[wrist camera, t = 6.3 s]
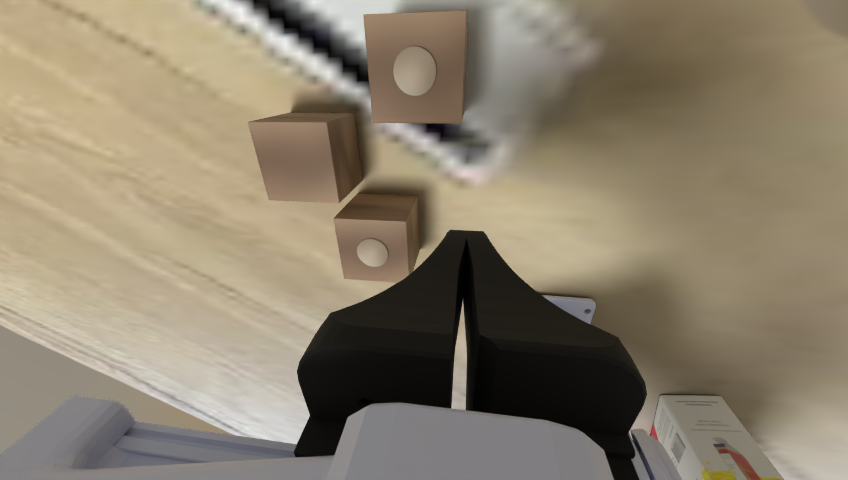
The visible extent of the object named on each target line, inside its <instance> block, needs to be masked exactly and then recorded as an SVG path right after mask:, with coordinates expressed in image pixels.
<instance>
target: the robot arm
mask: <svg viewBox="0 0 848 480" xmlns="http://www.w3.org/2000/svg"><path fill="white" fill-rule="evenodd" d="M462 301H463V303H464V317H465V330H466V343H467V383H466V410H458V409H451V402H452V385H453V368H454V354H455V345H456V339H457V333H458V327H459V320H460V314H461V308H462ZM595 308H596V304H595V302H594V300H592V299H588V298H575V297H562V296H549V295H540V294H539V293H538V292H536V291H535V290H534V289H533V288H531V287H530V286H529V285H528V284H527V283H525V282H524V281H523V280H522V279H521V278H520V277H519V276H518V275H517V274H516V273H515V272H514V271H513V270H512V269H511V268H510V267H509V266H508V265H507V263H506V262H505V261H504V260H503V259H502V257H501V256H500V255H499V253H498V252H497V251H496V249H495V248H494V247H493V245H492V244H491V242H490V240H489V239H488V237H487V235H486V234H485V233H484V232H483V231H463V230H450V231H449V232H447V234H446V236H445V237H444V239H443V240H442V242H441V243H440V244H439V245H438V247H437V248H436V249H435V250H434V251H433V253H432V254H431V255H430V256H429V257H428V258H427V259H426V260H425V261H424V262H423V263H422V264H421V265H420V266H419V267H418V268H417V269H416V270H414V271H413V272H412V273H411V274H410V275H408V276H407V277H406V278H404V279H403V280H401V281H400V282H398V283H397V284H395V285H393V286H392V287H390V288H388V289H387V290H385V291H383V292H381V293H379V294H377V295H375V296H373V297H371V298H369V299H367V300H365V301H362V302H360V303H357V304H355V305H352V306H349V307H346V308H344V309H341V310H338V311H335V312H332V313H330V314H329V316H328V317H327V319H326V320H325V321H324V323H323V324H322V325H321V327H320V328H319V330H318V331H317V333H316V334H315V336H314V338H313V339H312V341H311V343H310V345H309V346H308V348H307V350H306V351H305V353H304V355H303V357H302V358H301V360H300V362H299V366H298V370H297V374H298V380H299V384H300V387H301V390H302V393H303V396H304V399H305V401H306V404H307V407H308V410H309V413H310V417H309V419H308V422H307V424H306V426H305V428H304V430H303V432H302V435H301V437H300V439H299V441H298V443H297V444H290V443H283V442H277V441H270V440H263V439H256V438H249V437H242V436H235V435H228V434H221V433H214V432H207V431H200V430H193V429H186V428H179V427H172V426H166V425H158V424H151V423H144V422H138V421H135V418H134V416H133V415H132V413H131V412H130V411H129V409H128V408H126V407H125V406H124V405H123V404H121V403H119V402H117V401H114V400H110V399H105V398H97V397H90V396H82V395H73V396H70V397H69V398H68V399H67V400H66V401H64V402H63V403H62V404H61V405H59V406H58V407H57V408H56V409H55V410H53V411H52V412H51V413H50V414H49V415H47V416H46V417H45V418H44V419H43V420H41V421H40V422H39V423H38V424H37V425H35V426H34V427H33V428H32V429H30V431H28V432H27V433H26V434H24V435H23V436H22V437H21V438H20V439H18V440H17V441H16V442H15V443H14V444H12V445H11V446H10V447H9V448H7V449H6V450H5V451H4V452H3V453H1V454H0V480H682V478H681V476H680V474H679V473H678V471H677V469H676V467H675V465H674V463H673V461H672V460H671V458H670V456H669V455H668V453H667V451H666V450H665V448H664V447H663V445H662V444H661V443H660V442H659V441H658V440H656V439H655V438H653V437H652V436H650V435H648V434H647V433H646V431H644V430H643V429H634V430H631V435H632V438H631V437H630V434H629V430H630V429H631V427H632V425H633V423H634V421H635V420H636V418H637V416H638V414H639V413H640V411H641V409H642V407H643V405H644V402H645V399H646V396H647V392H646V386H645V382H644V380H643V378H642V376H641V375H640V373H639V371H638V369H637V367H636V365H635V363H634V362H633V360H632V358H631V356H630V355H629V353H628V352H627V350H626V349H625V347H624V346H623V344H622V343H621V341H620V340H619V338H618V337H616V336H614V335H612V334H610V333H607V332H605V331H603V330H601V329H599V328H597V327H595V326H593V325H591V324H590V323H591V320H592V317H593V314H594V311H595ZM586 309H589V310H587V311H585V310H586ZM632 439H633V440H632Z"/></svg>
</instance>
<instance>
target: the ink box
mask: <svg viewBox="0 0 848 480" xmlns="http://www.w3.org/2000/svg"><path fill="white" fill-rule="evenodd" d="M651 436H652V437H653V438H655V439H656V440H658V441H659V442H660V443H661V444H662V445H663V447H664V448H665V450H666V451H667V453H668V455H669V456H670V458H671V460H672V461H673V463H674V465H675V467H676V469H677V471H678V473H679V474H680V476H681V478H682V480H784V479H783V477H782V476H781V475H780V473H779V472H778V471H777V470H776V468H775V467H774V466H773V464H772V463H771V462H770V460H769V459H768V458H767V456H766V455H765V454H764V453H763V451H762V450H761V449H760V447H759V446H758V445H757V443H756V442H755V441H754V439H753V438H752V437H751V435H750V434H749V433H748V431H747V430H746V429H745V428H744V426H743V425H742V424H741V422H740V421H739V420H738V418H737V417H736V416H735V414H734V413H733V412H732V410H731V409H730V408H729V407H728V405H727V404H726V402H725V401H724V400H723V399H722V397H720V396H697V395H661V396H660V397H659V402H658V406H657V410H656V415H655V419H654V424H653V427H652V432H651Z"/></svg>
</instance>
